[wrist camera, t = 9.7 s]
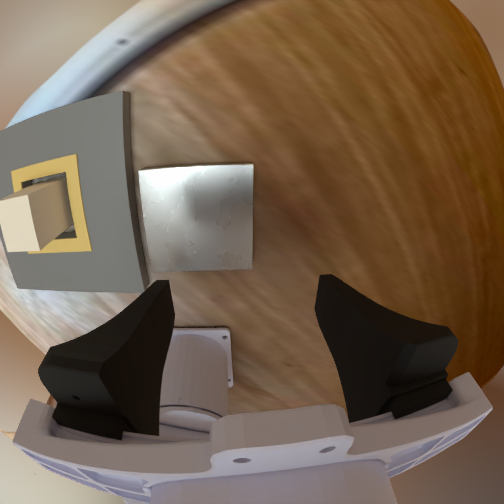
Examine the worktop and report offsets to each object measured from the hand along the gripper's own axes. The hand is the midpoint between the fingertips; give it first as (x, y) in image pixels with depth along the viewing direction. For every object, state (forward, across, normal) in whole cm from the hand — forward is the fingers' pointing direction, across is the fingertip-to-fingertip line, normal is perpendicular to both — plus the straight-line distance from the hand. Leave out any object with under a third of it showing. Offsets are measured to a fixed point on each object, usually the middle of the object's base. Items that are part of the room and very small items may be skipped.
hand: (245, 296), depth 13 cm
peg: (+10, +16, -3) cm, 19 cm away
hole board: (+9, +16, -3) cm, 19 cm away
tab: (+9, +3, -1) cm, 10 cm away
